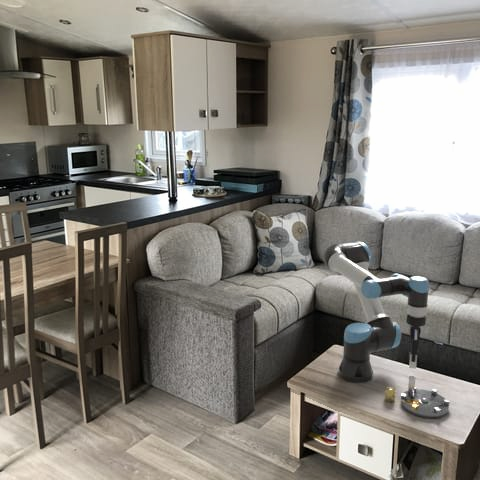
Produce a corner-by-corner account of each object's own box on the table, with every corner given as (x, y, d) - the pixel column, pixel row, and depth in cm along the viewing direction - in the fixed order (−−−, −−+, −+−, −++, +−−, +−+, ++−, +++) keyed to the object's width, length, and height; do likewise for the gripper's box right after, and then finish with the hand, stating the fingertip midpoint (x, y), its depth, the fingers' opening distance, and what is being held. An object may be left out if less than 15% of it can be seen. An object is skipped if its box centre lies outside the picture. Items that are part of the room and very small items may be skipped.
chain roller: (382, 400, 207) (383, 389, 206) (387, 396, 210) (388, 385, 209) (391, 403, 204) (392, 392, 203) (396, 400, 207) (397, 389, 206)
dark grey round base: (392, 405, 203) (393, 382, 201) (414, 388, 215) (416, 367, 213) (435, 424, 190) (437, 400, 188) (456, 405, 202) (458, 383, 200)
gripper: (406, 308, 212) (402, 359, 218) (407, 319, 200) (403, 373, 205) (425, 309, 210) (421, 361, 215) (427, 321, 198) (422, 375, 203)
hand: (412, 367), depth 210 cm, fingers closed
